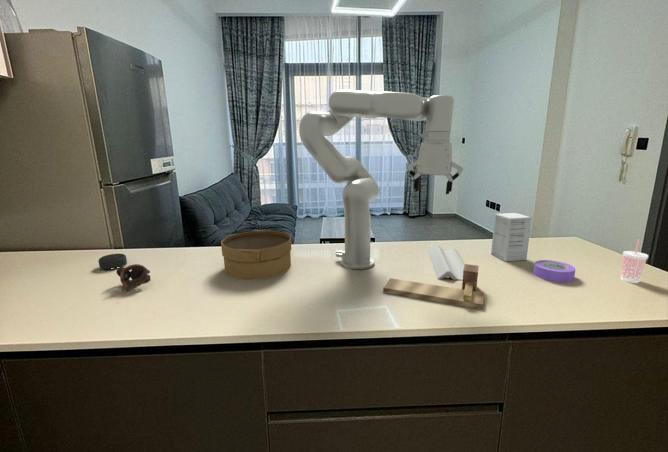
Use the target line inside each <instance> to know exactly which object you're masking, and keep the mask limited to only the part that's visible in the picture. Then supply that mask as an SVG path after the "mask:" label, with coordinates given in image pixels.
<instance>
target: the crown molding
mask: <svg viewBox="0 0 668 452" xmlns="http://www.w3.org/2000/svg"><path fill="white" fill-rule="evenodd" d="M426 251H427V253H428V256H429V260H430V262H431V265H432V269H433V270H434V273H435V274H434V275H435V276H436V279H437V280H442V279H450V278H451V279H452V280H453V281H463V270H464V266H465V264H466V263H465V262H464V261H463V259H462V257H461V256H460V254H459V252H458V251H457V249H456V248H455V247H453V246H452V247H451V248H450V249H443V248H442V247H441V246H440V245H439V244H438V243H434V244H433V245H431V247H429V248H428V249H427V250H426Z"/></svg>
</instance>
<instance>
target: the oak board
mask: <svg viewBox="0 0 668 452" xmlns="http://www.w3.org/2000/svg"><path fill="white" fill-rule="evenodd" d="M382 292H383V293H387V294H391V295H392V294H393V295H399V296H404V297H409V298H416V299H420V300H427V301H432V302H438V303H442V304H443V303H444V304H448V305H454V306H462V307H466V308H473V309H478V310H483V309H484V296H485V295H484V294H485V293H484V292H481V291H477V290H476V291H472V297H471V301H468V300H463V296H464V290H463V289H462V288H457V287H456V288H455V287H449V286H445V285H444V286H443V285H437V284H430V283H424V282H419V281H418V282H417V281H412V280H407V279H406V280H405V279H404V280H403V279H398V278H392V277H391V278H390V277H389V279H388V280H387V282H386V284H384V285H383V289H382Z"/></svg>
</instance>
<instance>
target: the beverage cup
mask: <svg viewBox="0 0 668 452" xmlns="http://www.w3.org/2000/svg"><path fill="white" fill-rule="evenodd" d="M640 240H641V239H640V238H637V241H636V245H635V250H634V251H633V250H624V251H623V252H622V256H623V258H622V266H621V275H620V279H621V280H622V281H623V282H627V283H632V284H638V282H639V283H640V281H641V278H642V275H643V271H644V270H645V269H644V268H645V266H646V262H647V260H648V259H649V254H647V253H643V252H640V251H638V249H639V246H640V245H639V244H640Z"/></svg>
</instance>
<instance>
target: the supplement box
mask: <svg viewBox="0 0 668 452" xmlns="http://www.w3.org/2000/svg"><path fill="white" fill-rule="evenodd" d="M493 219H494V221H493V229H492V230H493V232H492V242H491V250H490V251H491V253H490V254H491V255H492V256H494V257H496V258H498V259H500V260H502V261H504V262H516V261H527V258H528V250H529V241H530V236H531V235H530V234H531V225H532V217H531V216H528V215H524V214H522V213H517V212H507V213H505V212H504V213H494V218H493Z"/></svg>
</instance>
